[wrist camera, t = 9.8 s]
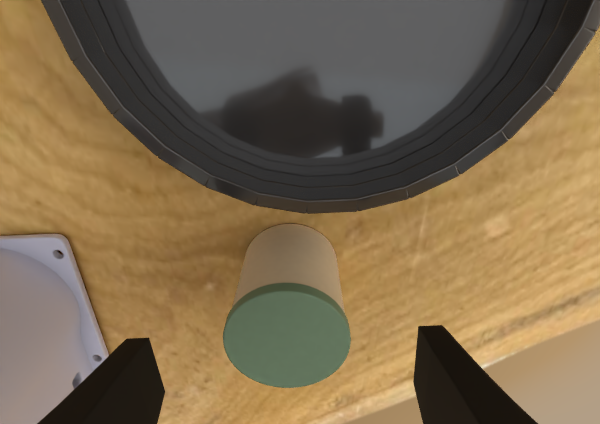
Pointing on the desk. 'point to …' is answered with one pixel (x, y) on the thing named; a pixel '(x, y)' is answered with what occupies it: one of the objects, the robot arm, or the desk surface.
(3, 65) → the desk surface
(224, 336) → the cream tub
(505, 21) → the pan
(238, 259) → the desk surface
